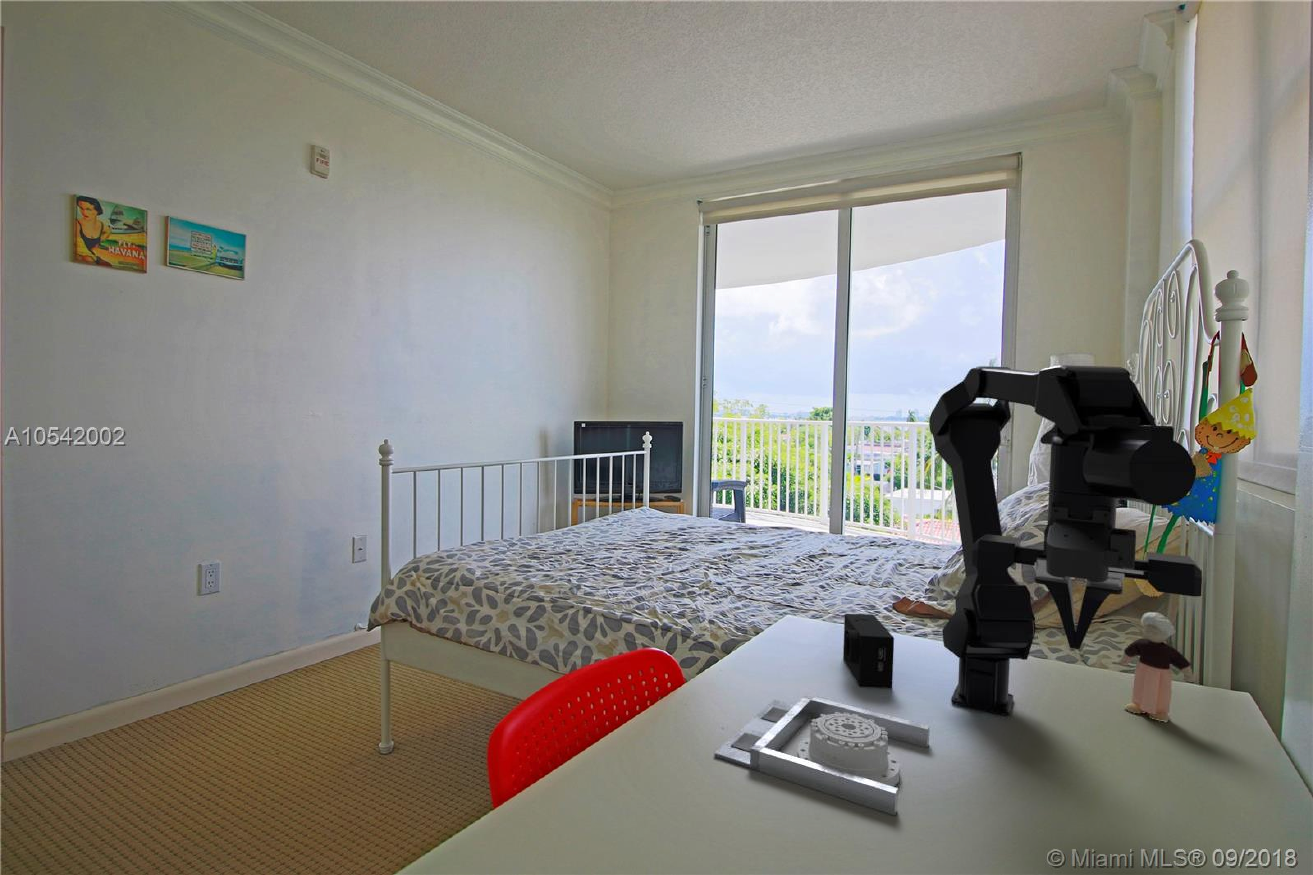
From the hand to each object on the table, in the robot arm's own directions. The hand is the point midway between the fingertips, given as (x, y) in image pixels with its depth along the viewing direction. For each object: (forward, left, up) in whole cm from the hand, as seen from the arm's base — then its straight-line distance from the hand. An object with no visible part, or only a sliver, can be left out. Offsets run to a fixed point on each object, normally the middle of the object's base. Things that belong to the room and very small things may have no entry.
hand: (1074, 647), depth 67 cm
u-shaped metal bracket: (+10, -22, -13) cm, 27 cm away
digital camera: (-15, -25, -13) cm, 32 cm away
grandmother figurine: (-22, +9, -13) cm, 27 cm away
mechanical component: (+12, -19, -13) cm, 26 cm away
